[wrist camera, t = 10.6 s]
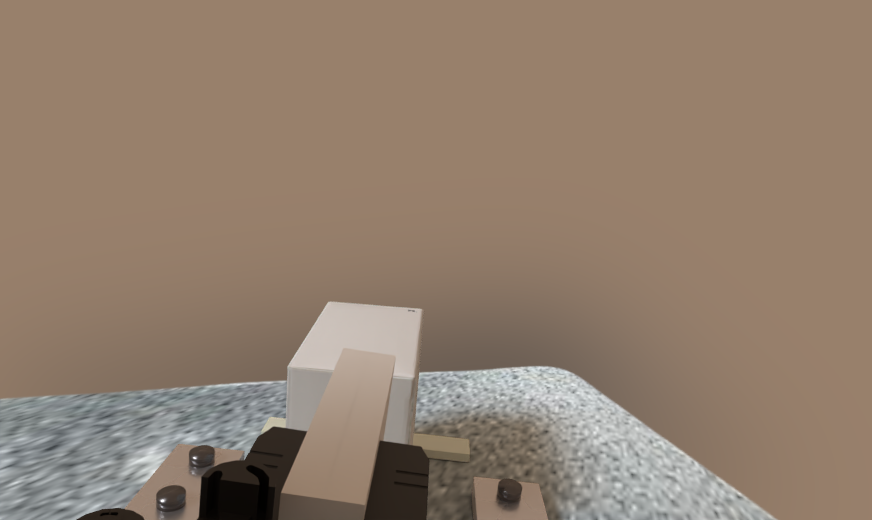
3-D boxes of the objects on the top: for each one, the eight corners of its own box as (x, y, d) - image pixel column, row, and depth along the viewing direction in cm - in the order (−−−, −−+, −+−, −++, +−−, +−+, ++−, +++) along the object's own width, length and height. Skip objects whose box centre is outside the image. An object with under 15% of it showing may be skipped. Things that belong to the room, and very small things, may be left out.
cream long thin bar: (260, 439, 40) (261, 431, 40) (269, 424, 42) (269, 416, 42) (468, 462, 40) (470, 454, 40) (467, 446, 42) (468, 439, 42)
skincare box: (315, 446, 40) (326, 296, 38) (411, 457, 40) (428, 308, 38) (271, 557, 30) (283, 360, 27) (400, 570, 30) (423, 376, 28)
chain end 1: (117, 539, 30) (116, 507, 29) (178, 461, 36) (178, 434, 36) (197, 547, 30) (198, 516, 29) (243, 468, 37) (244, 442, 36)
